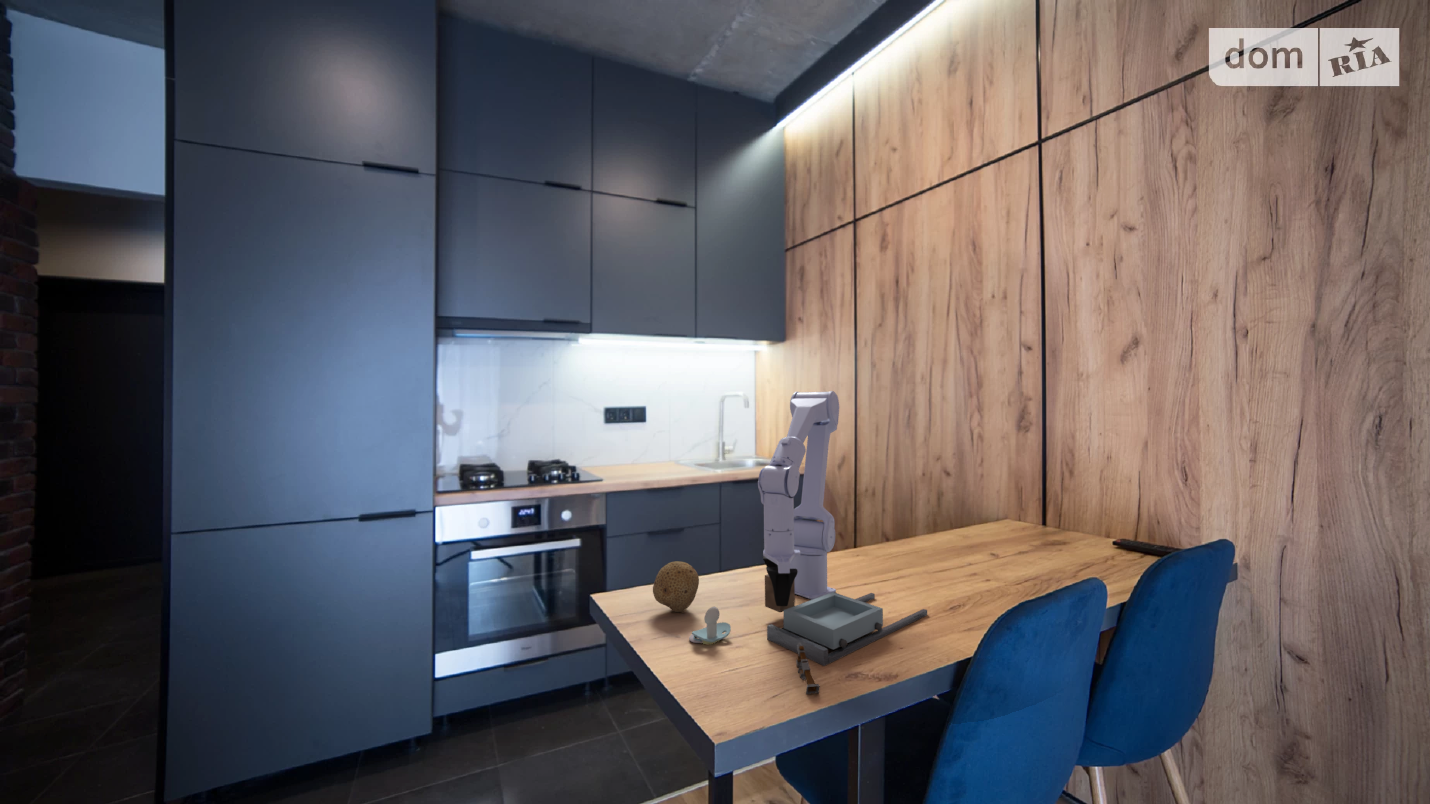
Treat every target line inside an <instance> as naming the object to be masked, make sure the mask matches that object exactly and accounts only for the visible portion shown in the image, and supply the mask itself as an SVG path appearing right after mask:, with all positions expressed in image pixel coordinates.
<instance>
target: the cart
mask: <svg viewBox="0 0 1430 804" xmlns="http://www.w3.org/2000/svg"><path fill="white" fill-rule="evenodd" d="M856 599H857V598H852V597H849V596H846V595H844V594H840V593H837V592H832V593H829V594H827V595H824V596H821V597H818V598H816V599H813V600H811V599H809V600H808V601H804V602H802V603H800V604H797V605H795V606H794V607H791V608H788V609H785V610H784V611H783V627H784V629H787V630H789V631H791V633H793V634H795V635H797V636H800V637H802V638H804V639H807V640H809V641H811V642H813V643H816V644H818V645H820V646H823V647H825V648H827V649H831V650H834V651H835V650H837V649H839V648H842V647H843V648H845V647H846V646H847V645H848V643H849V644H850V643H852V642H854V641H856V640H858V639H860V638H861V637H864V636H867V635H869V634H871V633H873V632H875V631H881V629H882V628H884V614H883V613H884V608H883V607H879V606H876V605H873V604H871V603H868V602H862V601H859V600H856Z"/></svg>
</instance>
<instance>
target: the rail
mask: <svg viewBox="0 0 1430 804" xmlns="http://www.w3.org/2000/svg"><path fill="white" fill-rule="evenodd" d="M875 595H876V594H875V593H874V592H870V593H867V594H864V595H862V596H860V597H857V598H855V599H856V600H859V601H862V602H865V603H868V602H869V600H870V601H872V600H874V599H875V598H876V597H875ZM926 616H928V609H926V608H922V609H920V610H918V611H916V612H914V613H912V614H910V615H907V616H905V617H904V618H901V619H899V620H897V621H895V622H893V623H891V624H888V625H887V626H885V627H884V626H883V627H882V629H881V631H878V630H875V631H872V632H870V633H868V634H866V635H864V636H862V638H861V637H860V638H858V639H856V640H854V641H851V642H849V644H848V643H847V646H846V647H845V648H843V647H839V648H837V649H835V650H834V651H831V652H829V648H828V647H826V646H824V645H821V644H819V643H817V642H814V641H812V640H810V639H807V638H805V637H803V636H801V635H798V634H796V633H794V632H791V631H789V630H787V629H784V626H783V627H779V626H776V625H774V624H768V625H767V626H766V627H767V628H766V636H767V637H766V639H767V640H768V641H770V642H772V643H774V644H776V645H779V646H781V647H783V648H784V649H787V650H788V651H791V652H793V653H795V654H797V655H798V650H797V644H798V643H801V644H802V645H804V649H805V656H806V659H808V660H811V661H813V662H815V663H817V664H819V665H821V666H822V667H825V666H827V665H829V664H831V663H833V662H835V661H837V660H840V659H842V658H843V657H846V656H848V655H849V654H851V653H853V652H856V651H858V650H860V649H861V648H864V647H865V646H868V645H870V644H872V643H874V642H875V641H878V640H880V639H882V638H884V637H886V636H888V635H890V634H892V633H894V632H896V631H898V630H900V629H902V628H905V627H906V626H908V625H910V624H913V623H914V622H917V621H918V620H921V619H922V618H925V617H926Z"/></svg>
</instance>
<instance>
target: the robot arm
mask: <svg viewBox="0 0 1430 804" xmlns="http://www.w3.org/2000/svg"><path fill="white" fill-rule="evenodd" d="M789 401H790V402H789V410H790V413H791V421H790V424H789V428H788V430H787V431H788V432H787V435H786V436H785V437H782V438H780V440H779V441H778V444H777V445H776V448H775V450H774V452H773V455H772V458H771V460H770V461H769V464H768V465H766V466H764V467H763V468H761V469H760V471H759V475H758V481H757V487H758V490H759V494H760V502H761V504H762V505H763V539H764V540H763V542H764V543H763V548H764V549H763V550H762V551H763V553H762V555H763V556H762V559H763V562H764V563H765V566H766V567H765V570H766V573H767V574H768V575H769V577H770V579H771V582H772V586H773V592H774V598H775V602H776V606H788V602H789V597H790V592H791V587H792V584H793V581H794V583H795V595H798V596H800V597H804V598H806V599H809V600H813V599H816V598H818V597H821V596H824V595H827V594H829V593H832V592H834V593H837V589H836V588H834V587H830V586H828V553H829V552H831V551H832V549H833V548H834V547H835V546H834V545H835V542H836V529H835V517H834V515H832V513H830V512H829V510H827V508H825V506H824V500H825V499H824V498H825V490H826V489H825V488H826V477H827V467H828V455H829V447H830V446H829V445H830V438H831V433H833V432H835V431H837V430H838V424H839V416H840V401H839V397H838V395H837V393H836V392H835V391H833V390H829V391H810V392H809V391H802V392H800V391H794V392H793V394H792V395H791V397H790V400H789ZM806 439H807V441H806ZM805 441H806V443H807V444H806V446H805V445H804V443H805ZM804 457H805V461H804V471H803V479H802V480H803V481H802V490H801V491H802V492H801V499H800V504H799V505H798V506H796V507H795V505H794V504H795V503H794V499H795V498H794V497H795V496H796V495H797V492H798V490H799V484H800V483H799V481H800V476H801V475H800V474H801V472H800V468H801V465H802V462H803V460H804ZM794 507H795V508H794Z"/></svg>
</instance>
